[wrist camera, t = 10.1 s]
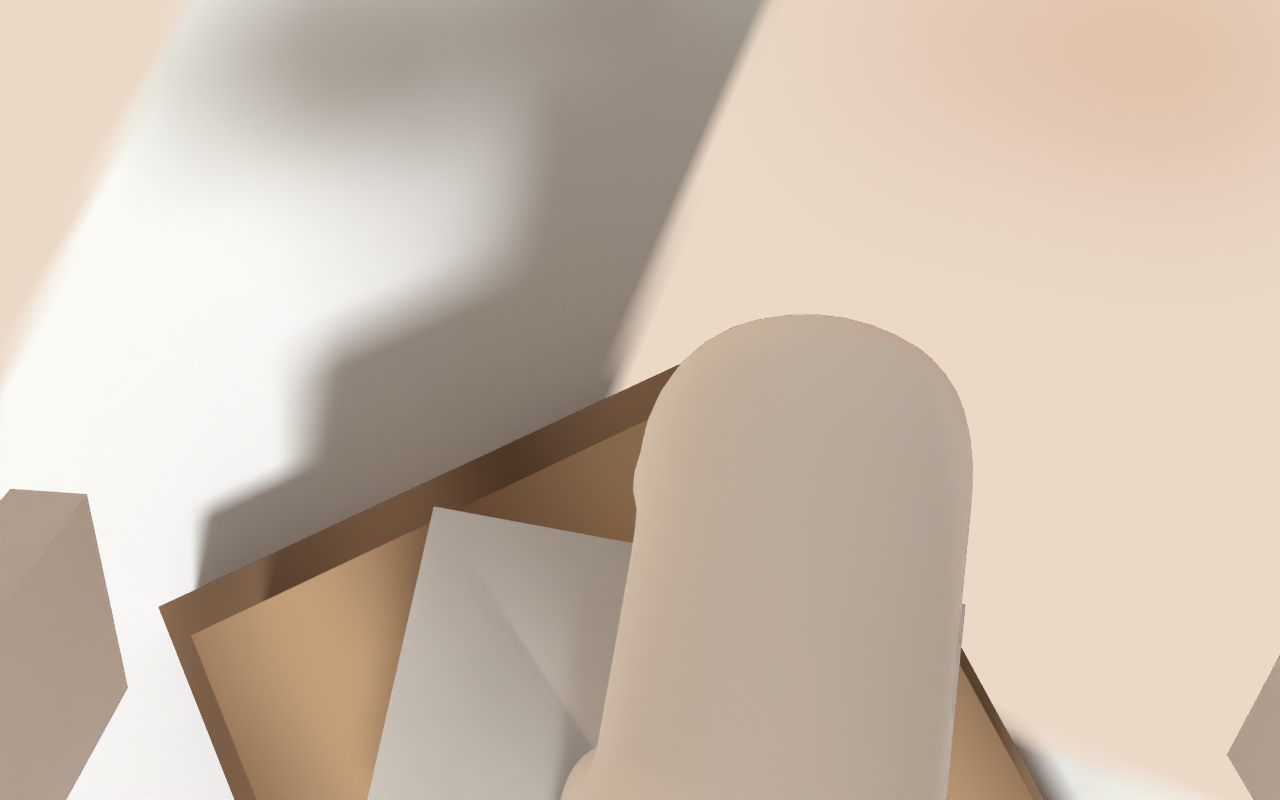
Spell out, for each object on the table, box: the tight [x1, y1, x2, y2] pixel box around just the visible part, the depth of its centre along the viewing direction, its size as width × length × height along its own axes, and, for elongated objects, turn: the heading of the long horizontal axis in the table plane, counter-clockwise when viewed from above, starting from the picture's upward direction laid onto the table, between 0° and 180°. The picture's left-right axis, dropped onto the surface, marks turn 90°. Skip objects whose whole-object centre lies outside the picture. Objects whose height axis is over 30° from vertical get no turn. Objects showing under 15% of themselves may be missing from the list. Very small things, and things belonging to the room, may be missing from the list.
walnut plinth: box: [159, 365, 1044, 800], centre depth 20 cm, size 14×14×6 cm
